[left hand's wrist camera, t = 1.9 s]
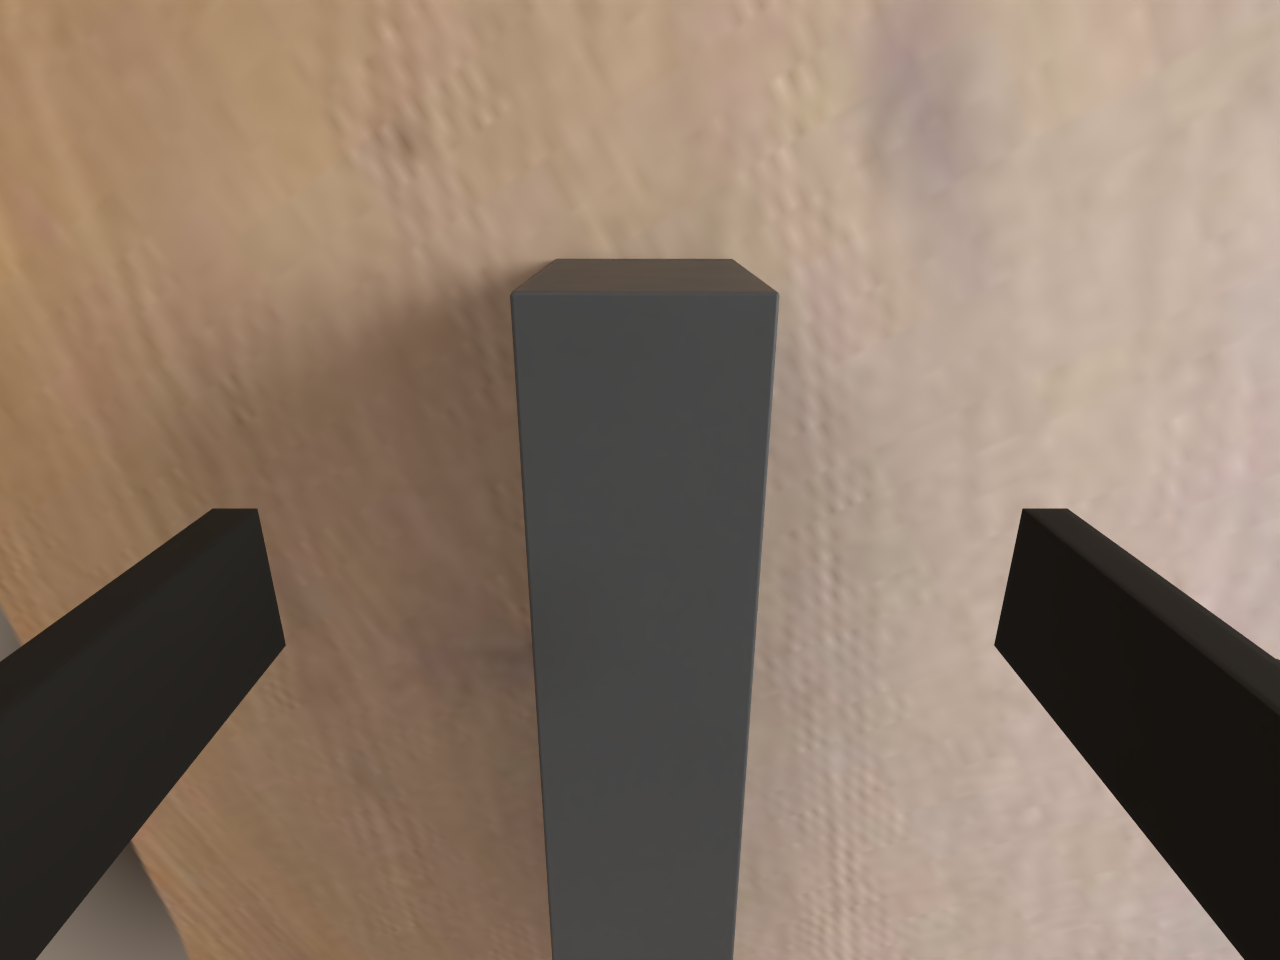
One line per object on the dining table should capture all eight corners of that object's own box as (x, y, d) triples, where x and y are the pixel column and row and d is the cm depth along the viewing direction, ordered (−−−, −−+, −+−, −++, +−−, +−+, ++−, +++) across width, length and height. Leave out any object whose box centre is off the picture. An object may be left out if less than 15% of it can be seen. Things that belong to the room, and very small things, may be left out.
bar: (554, 258, 23) (509, 291, 15) (734, 258, 23) (779, 291, 15) (582, 943, 35) (564, 1160, 27) (702, 943, 35) (719, 1161, 27)
